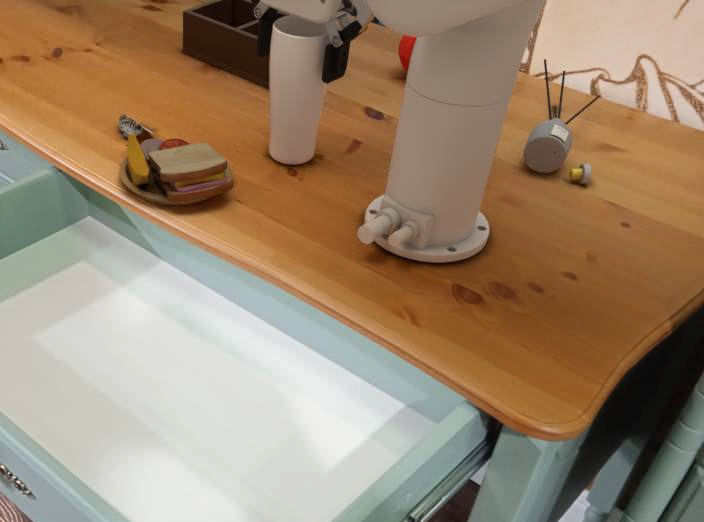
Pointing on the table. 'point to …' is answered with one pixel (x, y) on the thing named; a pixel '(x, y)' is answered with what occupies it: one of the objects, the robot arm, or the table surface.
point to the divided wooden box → (226, 38)
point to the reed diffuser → (553, 142)
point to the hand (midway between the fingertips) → (299, 65)
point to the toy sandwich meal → (174, 171)
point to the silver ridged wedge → (130, 126)
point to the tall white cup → (296, 88)
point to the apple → (406, 50)
